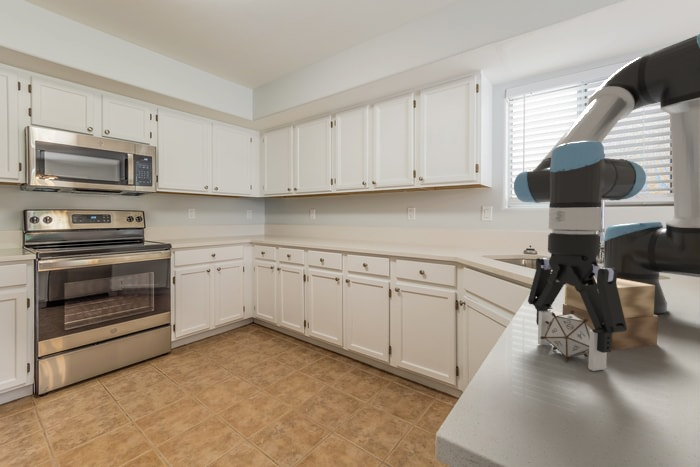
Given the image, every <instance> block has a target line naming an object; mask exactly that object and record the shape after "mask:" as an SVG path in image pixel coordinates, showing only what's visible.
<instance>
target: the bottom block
mask: <svg viewBox="0 0 700 467" xmlns="http://www.w3.org/2000/svg"><path fill="white" fill-rule="evenodd" d="M571 310H573V311H574V313H573V314H574V315H575V316H577V317H579V318H580V319H582V320H583V321H584V319H588V321H587V322H586V323H587V324H588V325H589V326H590V327H591V328H592V329H593V330H594V329H595V327H594V325H593V323H592V320H591V318H590V316H589V313H588V311H585V310H582V309H579V308H575V307H572V306H569V305H567V304H565V303H563V304H562V314H561V315H566V314H571ZM625 323H626V327H627V330H626V331H624V332H615V333H612V343H611V351H617V350H624V349H626V350H627V349H633V348H640V347H649V346H650V347H651V346H656V345H658V335H659V334H658V333H659V331H658V330H659V315H657V314H654V315H653V316H642V317H632V318H625ZM602 324H603V323H602Z"/></svg>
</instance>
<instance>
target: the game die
mask: <svg viewBox="0 0 700 467" xmlns="http://www.w3.org/2000/svg"><path fill="white" fill-rule="evenodd" d="M573 313H574V311H573V310H571V314H566V315H562V314H560V315H556V314H555V312H553V313H552V314H551V315H552V316H553V319H552V320H551V321H550V323H549V322H548V321H545V322H546V324H548V328H547V331H546V334H545V337H543V336H541V337H540V339H546V340H547V341H549V342H550V343H551V344H550V345H552V346H553V347H552V350H554V351H556V350H557V351H559V352H560V354H562V355H563V356H564V357H565V358H564V361H565V362H566V363H567V362H569V358H573V357H576V356H577V357H578V356H582V355H583V357H585V358H588V359H589V354H587V353H589V341H590V330H593V329H592V328H591V327H590V326H589V325H588V324H587V323H586V322H587V321H588V319H584V321H583V320H582V319H580V318H579V317H577V316H575V315H574V314H573Z"/></svg>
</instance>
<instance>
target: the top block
mask: <svg viewBox="0 0 700 467" xmlns="http://www.w3.org/2000/svg"><path fill="white" fill-rule="evenodd" d="M594 276H595V275H594ZM594 276H593V277H594ZM594 279H595V278H594ZM595 281H596V283H597V279H595ZM616 284H617V288H618V293H619V297H620V301H621V306H622V310H623V314H624V318H632V317H642V316H653V315H655V314H654V297H655V285H651V284H645V283H640V282H635V281H629V280H624V279H618V278H617V281H616ZM586 285H588V284H586ZM597 291H598V289H597ZM598 293H599V292H598ZM567 305H569V306H572V307H575V308H579V309H582V310H585V311H587V309H586V306H585V304H584V302H583V299H582V297H581V295H580V293H579V292H578V291H577V290H576V289H575V287H574V286H572V285H569V284H567Z"/></svg>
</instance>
